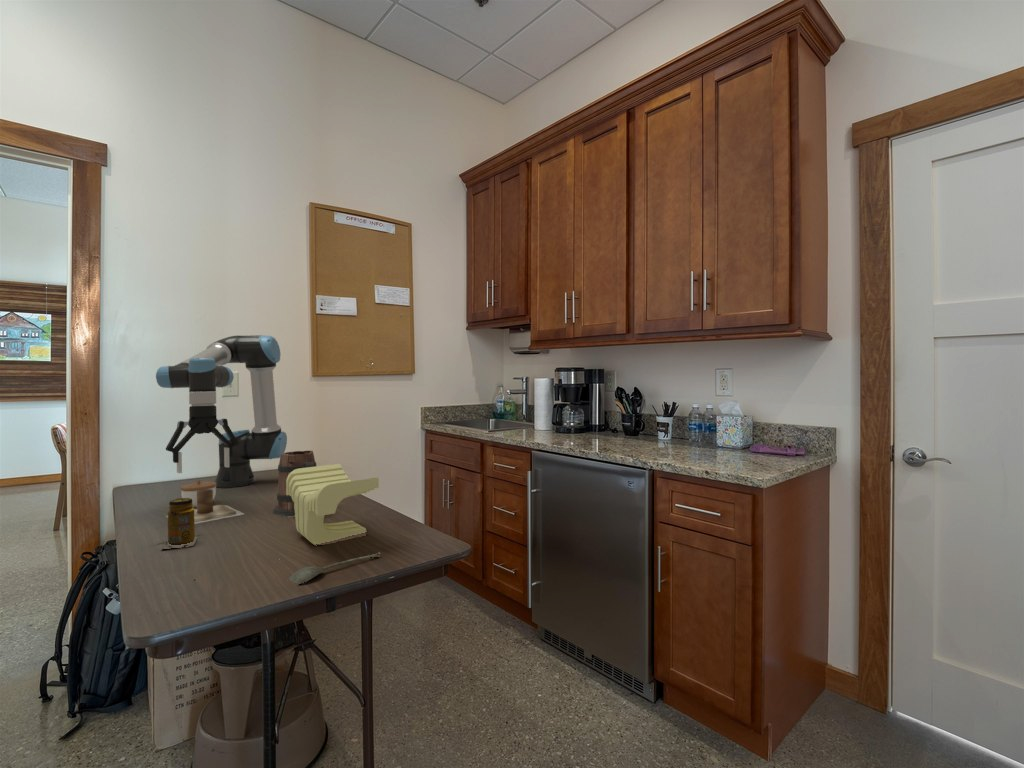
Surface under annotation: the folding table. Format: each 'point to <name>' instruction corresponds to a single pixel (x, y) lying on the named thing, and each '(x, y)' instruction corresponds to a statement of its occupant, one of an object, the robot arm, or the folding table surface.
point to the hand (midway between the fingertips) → (203, 469)
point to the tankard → (285, 467)
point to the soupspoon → (317, 570)
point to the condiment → (181, 521)
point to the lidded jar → (192, 489)
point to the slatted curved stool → (324, 501)
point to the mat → (221, 517)
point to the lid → (209, 507)
